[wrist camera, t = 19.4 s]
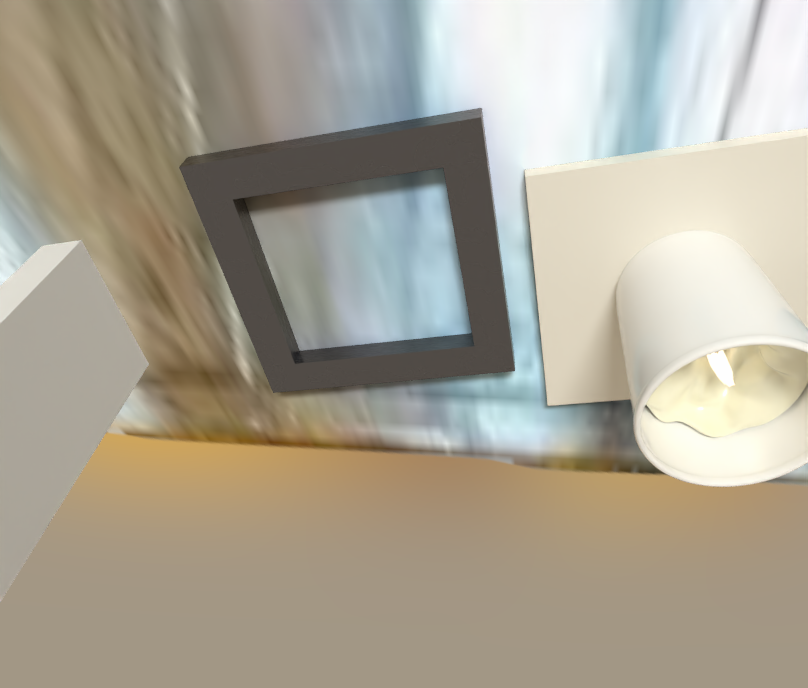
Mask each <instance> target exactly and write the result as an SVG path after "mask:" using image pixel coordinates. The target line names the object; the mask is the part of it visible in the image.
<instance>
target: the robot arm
mask: <svg viewBox="0 0 808 688" xmlns="http://www.w3.org/2000/svg"><path fill="white" fill-rule="evenodd" d="M148 365H149V364H148V362H147V360H146V358H145V356H144V354H143V353H142V351H141V349H140V347H139V345H138V343H137V341H136V340H135V338H134V336H133V334H132V332H131V330H130V329H129V327H128V325H127V323H126V321H125V319H124V318H123V316H122V314H121V312H120V310H119V308H118V307H117V305H116V303H115V301H114V299H113V297H112V295H111V294H110V292H109V290H108V288H107V286H106V284H105V283H104V281H103V279H102V277H101V275H100V273H99V272H98V270H97V268H96V266H95V264H94V262H93V260H92V259H91V257H90V255H89V253H88V251H87V249H86V248H85V246H84V244H83V242H82V240H79V241H72V242H65V243H59V244H52V245H45V246H42V247H41V248H40V249H39V250H38V251H37V252H36V253H34V254H33V255H32V256H31V257H30V258H29V259H28V260H27V261H26V262H25V263H24V264H23V265H22V266H21V267H20V268H19V269H18V270H17V271H16V272H14V273H13V274H12V275H11V276H10V277H9V278H8V279H7V280H6V281H5V282H4V283H3V284H2V285H1V286H0V602H1V600H2V598H3V597H4V595H5V594H6V592H7V590H8V589H9V587H10V585H11V584H12V582H13V581H14V579H15V578H16V576H17V574H18V573H19V571H20V569H21V568H22V566H23V565H24V563H25V562H26V560H27V558H28V557H29V555H30V553H31V552H32V550H33V549H34V547H35V545H36V544H37V542H38V541H39V539H40V537H41V536H42V534H43V533H44V531H45V530H46V528H47V526H48V525H49V523H50V521H51V520H52V518H53V517H54V515H55V513H56V512H57V510H58V509H59V507H60V505H61V504H62V502H63V501H64V499H65V498H66V496H67V494H68V493H69V491H70V489H71V488H72V486H73V485H74V483H75V481H76V480H77V478H78V477H79V475H80V474H81V472H82V470H83V469H84V467H85V466H86V464H87V462H88V461H89V459H90V458H91V456H92V454H93V453H94V451H95V450H96V448H97V446H98V444H99V443H100V442H101V440H102V438H103V437H104V435H105V434H106V432H107V430H108V429H109V427H110V426H111V424H112V422H113V421H114V419H115V418H116V416H117V414H118V413H119V411H120V410H121V408H122V406H123V405H124V403H125V402H126V400H127V398H128V397H129V395H130V394H131V392H132V390H133V389H134V387H135V386H136V384H137V382H138V381H139V379H140V378H141V376H142V374H143V373H144V371H145V370H146V368H147V366H148Z"/></svg>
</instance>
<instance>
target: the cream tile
mask: <svg viewBox="0 0 808 688" xmlns="http://www.w3.org/2000/svg"><path fill="white" fill-rule="evenodd" d="M524 171H525V181H526V191H527V201H528V211H529V221H530V231H531V242H532V252H533V262H534V272H535V282H536V292H537V302H538V312H539V322H540V332H541V342H542V352H543V362H544V372H545V383H546V393H547V402H548V406H552V405H565V404H577V403H590V402H603V401H615V400H628V399H630V394H629V387H628V381H627V375H626V368H625V362H624V356H623V350H622V343H621V337H620V330H619V324H618V317H617V310H616V288H617V284H618V280H619V278H620V275H621V273H622V271H623V270H624V268H625V266H626V265H627V264H628V262H629V261H630V260H631V259H632V258H633V257H634V256H635V255H636V254H637V253H638V252H639V251H640V250H641V249H643V248H644V247H645V246H647V245H648V244H650V243H652V242H653V241H655V240H657V239H659V238H662V237H664V236H667V235H670V234H673V233H677V232H682V231H689V230H706V231H713V232H717V233H721V234H723V235H726V236H728V237H730V238H732V239H734V240H735V241H737V242H738V243H740V244H741V245H742V246H743V247H744V248H745V249H746V250H747V251H748V252H749V253H750V254H751V255H752V257H753V258H754V259H755V260H756V262H757V263H758V264H759V265H760V267H761V268H762V269H763V271H764V272H765V273H766V274H767V276H768V277H769V278H770V280H771V281H772V282H773V283H774V285H775V286H776V287H777V289H778V290H779V291H780V293H781V294H782V295H783V297H784V298H785V299H786V300H787V302H788V303H789V304H790V306H791V307H792V308H793V310H794V311H795V312H796V314H797V315H798V316H799V317H800V319H801V320H802V321H803V323H804V324H805V325H806V327H807V328H808V128H803V129H797V130H790V131H783V132H776V133H770V134H763V135H756V136H749V137H743V138H736V139H729V140H722V141H715V142H709V143H702V144H695V145H688V146H682V147H675V148H668V149H661V150H654V151H648V152H641V153H634V154H627V155H621V156H614V157H607V158H600V159H594V160H587V161H580V162H573V163H566V164H560V165H553V166H546V167H539V168H533V169H526V170H524Z"/></svg>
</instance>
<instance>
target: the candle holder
mask: <svg viewBox="0 0 808 688" xmlns="http://www.w3.org/2000/svg"><path fill="white" fill-rule="evenodd" d="M616 310H617V317H618V324H619V330H620V337H621V343H622V350H623V356H624V362H625V368H626V375H627V381H628V387H629V394H630V400H631V406H632V413H633V428H634V435H635V439H636V442H637V444H638V446H639V448H640V450H641V452H642V453H643V455H644V456H645V457H646V459H647V460H648V461H649V462H650V463H651V464H652V465H654V466H655V467H656V468H657V469H659V470H660V471H662V472H664V473H665V474H667V475H669V476H671V477H673V478H676V479H678V480H681V481H684V482H688V483H692V484H697V485H704V486H713V487H732V486H742V485H749V484H755V483H759V482H763V481H767V480H771V479H774V478H777V477H780V476H782V475H785V474H787V473H789V472H792V471H794V470H796V469H798V468H800V467H801V466H803V465H805V464H807V463H808V328H807V327H806V325H805V324H804V323H803V321H802V320H801V319H800V317H799V316H798V315H797V314H796V312H795V311H794V310H793V308H792V307H791V306H790V304H789V303H788V302H787V300H786V299H785V298H784V297H783V295H782V294H781V293H780V291H779V290H778V289H777V287H776V286H775V285H774V283H773V282H772V281H771V280H770V278H769V277H768V276H767V274H766V273H765V272H764V271H763V269H762V268H761V267H760V265H759V264H758V263H757V262H756V260H755V259H754V258H753V257H752V255H751V254H750V253H749V252H748V251H747V250H746V249H745V248H744V247H743V246H742V245H741V244H740V243H738V242H737V241H735V240H734V239H732V238H730V237H728V236H726V235H723V234H721V233H717V232H713V231H706V230H689V231H682V232H677V233H673V234H670V235H667V236H664V237H662V238H659V239H657V240H655V241H653V242H652V243H650V244H648V245H647V246H645V247H644V248H643V249H641V250H640V251H639V252H638V253H637V254H636V255H635V256H634V257H633V258H632V259H631V260H630V261H629V262H628V264H627V265H626V266H625V268H624V270H623V271H622V273H621V275H620V278H619V280H618V284H617V288H616Z"/></svg>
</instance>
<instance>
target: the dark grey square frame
mask: <svg viewBox="0 0 808 688" xmlns="http://www.w3.org/2000/svg"><path fill="white" fill-rule="evenodd" d="M179 168H180V170H181V173H182V175H183V177H184V180H185V182H186V185H187V187H188V189H189V192H190V194H191V197H192V199H193V201H194V204H195V206H196V209H197V211H198V213H199V216H200V218H201V221H202V223H203V225H204V228H205V230H206V233H207V235H208V237H209V240H210V242H211V245H212V247H213V249H214V252H215V254H216V257H217V259H218V261H219V264H220V266H221V269H222V271H223V273H224V276H225V278H226V281H227V283H228V285H229V288H230V290H231V293H232V295H233V297H234V300H235V302H236V305H237V307H238V309H239V312H240V314H241V317H242V319H243V321H244V324H245V326H246V329H247V331H248V333H249V336H250V338H251V341H252V343H253V345H254V348H255V350H256V353H257V355H258V357H259V360H260V362H261V365H262V367H263V369H264V372H265V374H266V377H267V379H268V381H269V384H270V386H271V389H272V391H273V393H275V392H286V391H297V390H309V389H320V388H331V387H342V386H353V385H364V384H375V383H387V382H398V381H409V380H420V379H431V378H442V377H453V376H464V375H476V374H487V373H498V372H509V371H515V361H514V351H513V344H512V336H511V328H510V321H509V313H508V305H507V298H506V290H505V283H504V275H503V267H502V260H501V252H500V244H499V237H498V229H497V222H496V214H495V206H494V199H493V191H492V184H491V176H490V168H489V161H488V153H487V145H486V138H485V130H484V123H483V115H482V108H478V109H472V110H467V111H461V112H455V113H449V114H443V115H437V116H431V117H425V118H419V119H413V120H407V121H401V122H395V123H389V124H383V125H377V126H371V127H365V128H359V129H353V130H347V131H341V132H335V133H329V134H323V135H317V136H311V137H305V138H299V139H293V140H288V141H282V142H276V143H270V144H264V145H258V146H252V147H246V148H240V149H234V150H228V151H222V152H216V153H210V154H204V155H198V156H192V157H188V158H187V159H186V160H185V161H184V162H183V163H182V164H181V166H180V167H179ZM437 168H444V174H445V180H446V185H447V191H448V197H449V203H450V208H451V214H452V220H453V226H454V232H455V237H456V243H457V249H458V255H459V260H460V266H461V272H462V278H463V283H464V289H465V295H466V301H467V306H468V312H469V318H470V324H471V329H472V334H462V335H453V336H443V337H433V338H423V339H413V340H403V341H394V342H384V343H374V344H364V345H354V346H345V347H335V348H325V349H315V350H305V351H299V348H298V346H297V343H296V340H295V338H294V335H293V332H292V329H291V327H290V324H289V321H288V319H287V316H286V313H285V310H284V308H283V305H282V302H281V300H280V297H279V294H278V291H277V289H276V286H275V283H274V281H273V278H272V275H271V272H270V270H269V267H268V264H267V262H266V259H265V256H264V253H263V251H262V248H261V245H260V243H259V240H258V237H257V234H256V232H255V229H254V226H253V224H252V221H251V218H250V215H249V213H248V210H247V207H246V205H245V202H244V199H243V198H246V197H252V196H259V195H266V194H272V193H279V192H285V191H292V190H298V189H305V188H312V187H318V186H325V185H331V184H338V183H345V182H351V181H358V180H364V179H371V178H377V177H384V176H391V175H397V174H404V173H410V172H417V171H424V170H430V169H437Z"/></svg>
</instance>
